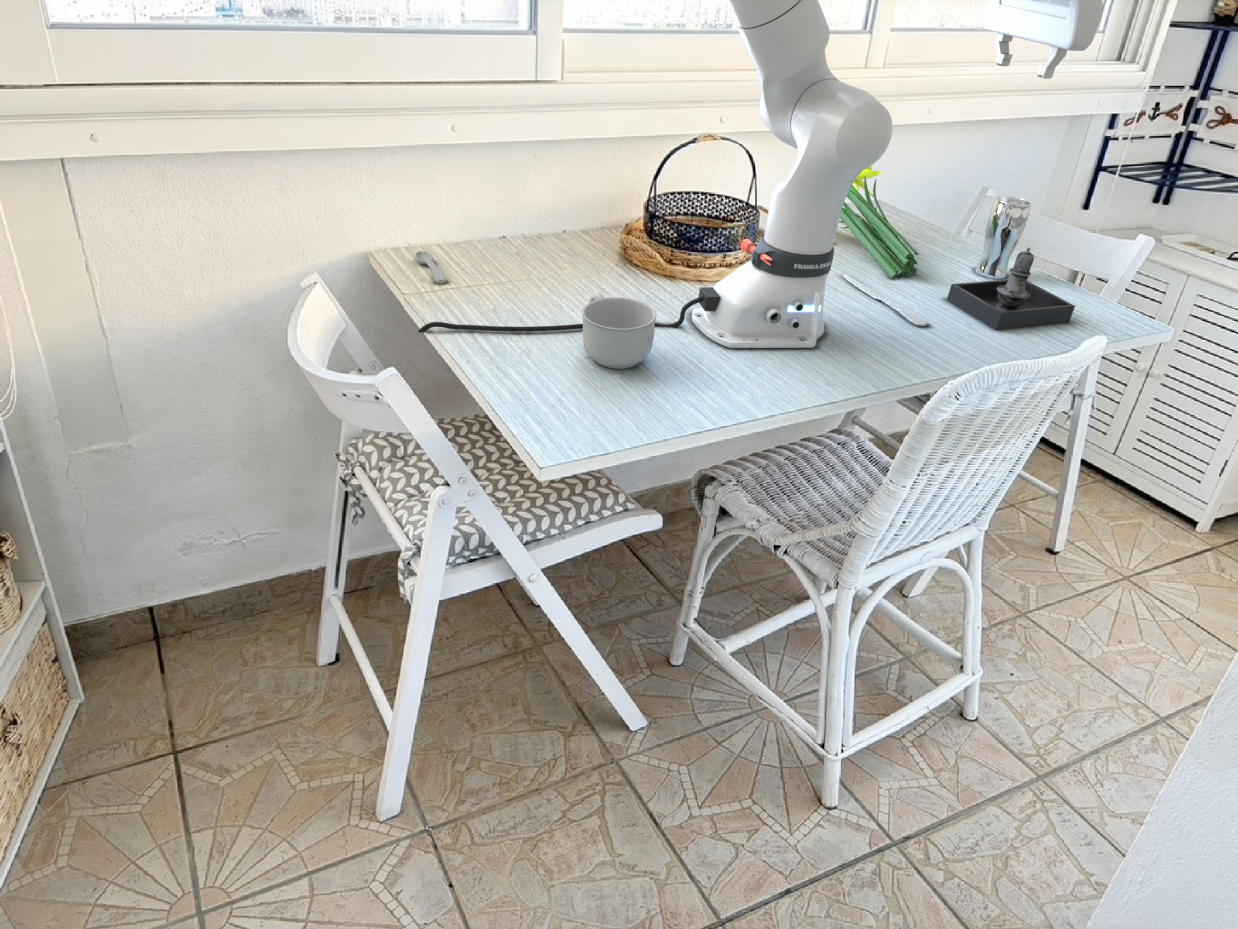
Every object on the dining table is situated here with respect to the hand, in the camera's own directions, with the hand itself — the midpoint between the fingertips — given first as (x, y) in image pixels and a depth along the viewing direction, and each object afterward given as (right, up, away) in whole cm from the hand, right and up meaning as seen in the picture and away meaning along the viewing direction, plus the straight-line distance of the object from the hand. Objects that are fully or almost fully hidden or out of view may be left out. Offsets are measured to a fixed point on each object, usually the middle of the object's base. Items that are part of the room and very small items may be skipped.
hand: (1022, 71), depth 146 cm
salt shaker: (+8, -34, +25) cm, 43 cm away
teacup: (-65, -46, -6) cm, 80 cm away
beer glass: (+12, -24, +42) cm, 49 cm away
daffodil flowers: (-13, -18, +47) cm, 51 cm away
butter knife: (-16, -32, +23) cm, 43 cm away
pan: (+8, -34, +25) cm, 43 cm away
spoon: (-97, -28, +16) cm, 102 cm away
